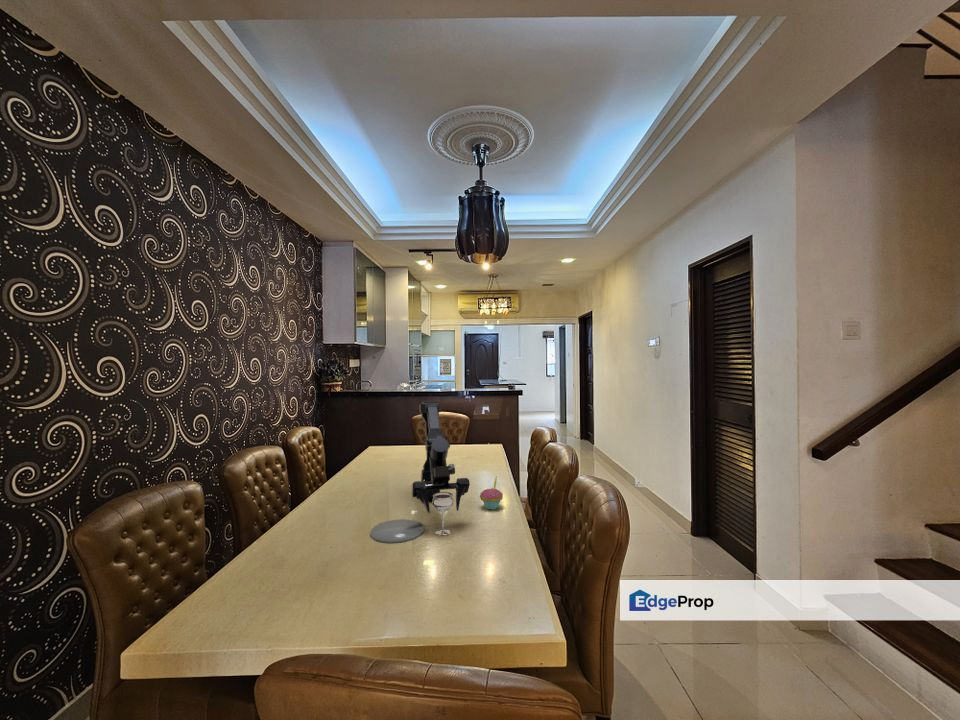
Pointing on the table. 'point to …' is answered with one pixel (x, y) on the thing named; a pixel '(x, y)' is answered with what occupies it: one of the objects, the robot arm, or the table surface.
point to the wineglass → (442, 506)
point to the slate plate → (397, 531)
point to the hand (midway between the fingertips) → (443, 511)
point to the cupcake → (491, 497)
